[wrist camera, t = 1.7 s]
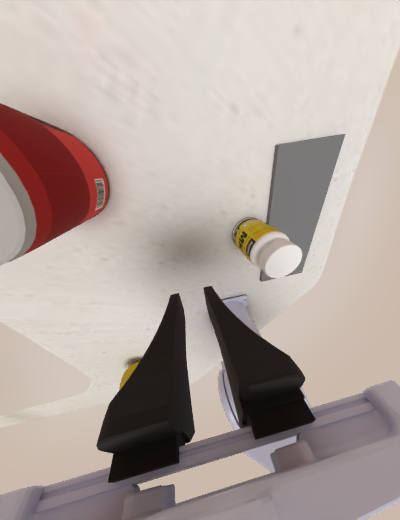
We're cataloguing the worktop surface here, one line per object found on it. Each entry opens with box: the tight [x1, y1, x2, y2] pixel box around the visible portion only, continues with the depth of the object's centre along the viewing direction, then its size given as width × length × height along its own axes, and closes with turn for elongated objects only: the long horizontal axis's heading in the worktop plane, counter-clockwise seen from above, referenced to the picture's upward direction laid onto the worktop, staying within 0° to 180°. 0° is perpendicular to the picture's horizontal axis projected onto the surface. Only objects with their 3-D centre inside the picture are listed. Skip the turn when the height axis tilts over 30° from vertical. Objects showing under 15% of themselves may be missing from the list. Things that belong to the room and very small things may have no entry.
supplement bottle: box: [233, 218, 302, 278], centre depth 18 cm, size 5×5×8 cm
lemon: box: [120, 361, 139, 389], centre depth 31 cm, size 6×6×8 cm
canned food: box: [0, 103, 109, 265], centre depth 10 cm, size 8×8×11 cm
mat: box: [260, 134, 345, 282], centre depth 21 cm, size 20×8×1 cm, turn 8°
